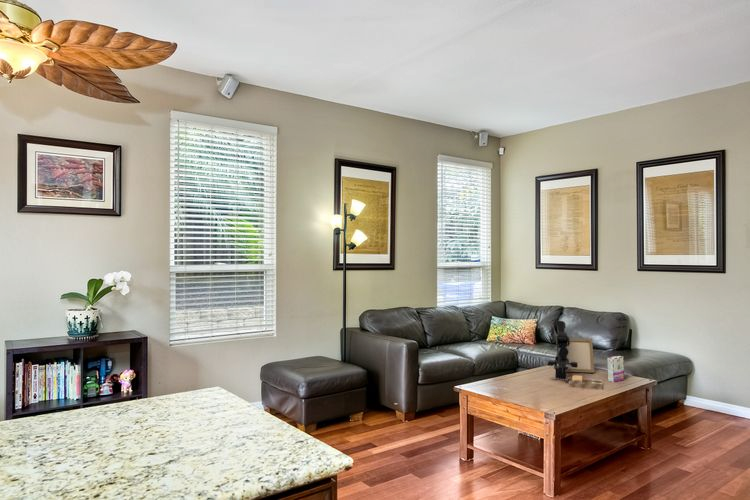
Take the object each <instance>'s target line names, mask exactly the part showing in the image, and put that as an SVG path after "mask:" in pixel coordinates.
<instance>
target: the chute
mask: <svg viewBox="0 0 750 500" xmlns="http://www.w3.org/2000/svg"><path fill="white" fill-rule="evenodd" d="M568 386H569V388H572V387H573V388H580V389H582V388H583V389H592V390H593V389H594V390H603V380H600V379H584V378H582V382H581V381H580V380H573V381H572V378H571V377H569V381H568Z"/></svg>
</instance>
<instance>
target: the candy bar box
mask: <svg viewBox="0 0 750 500" xmlns="http://www.w3.org/2000/svg"><path fill="white" fill-rule="evenodd" d="M606 360H607V381H608V382H610V383H611V382H613V383H616V382H617V381H618V382H621V381H625V359H624V356H621V355H614V356H608V357H607V359H606Z"/></svg>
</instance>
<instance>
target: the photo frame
mask: <svg viewBox="0 0 750 500" xmlns="http://www.w3.org/2000/svg"><path fill="white" fill-rule="evenodd" d="M569 341H570V345H569V346H567V349H568V355H567V359H569V363H571V362H577V363H578V367H577V368H576V367H572V366H569V367H568V369H567V370H566V373H586V374H587V373H590V374H591V373H593V374H594V373H595V364H594V363H595V362H594V349H593V348H594V347H593V338H584V337H583V338H577V337H576V338H574V337H572V338H571V337H569ZM567 344H568V343H567Z"/></svg>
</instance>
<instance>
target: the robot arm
mask: <svg viewBox="0 0 750 500" xmlns="http://www.w3.org/2000/svg"><path fill="white" fill-rule="evenodd" d="M566 327H567V326H566V322H565V321H563V320H557V321H553V322H552V329H553V331H554V333H555V335H556V336H555V340H556V356H555V358H554V359H553V360H552V359H549V360H548V362H547V366H550V367H552V366H553V369H554V370H555V378H556V379H566V378H567V372H566V370H567V369H568V367H569V366H572V367H576V368H577V367H578V363H577V362H571V363H569V359H567V355H568V349H567V346H569V345H570V341H569V338H570V337H569V336H568V334H567V333H566V332H565V329H566ZM567 343H568V344H567Z"/></svg>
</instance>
